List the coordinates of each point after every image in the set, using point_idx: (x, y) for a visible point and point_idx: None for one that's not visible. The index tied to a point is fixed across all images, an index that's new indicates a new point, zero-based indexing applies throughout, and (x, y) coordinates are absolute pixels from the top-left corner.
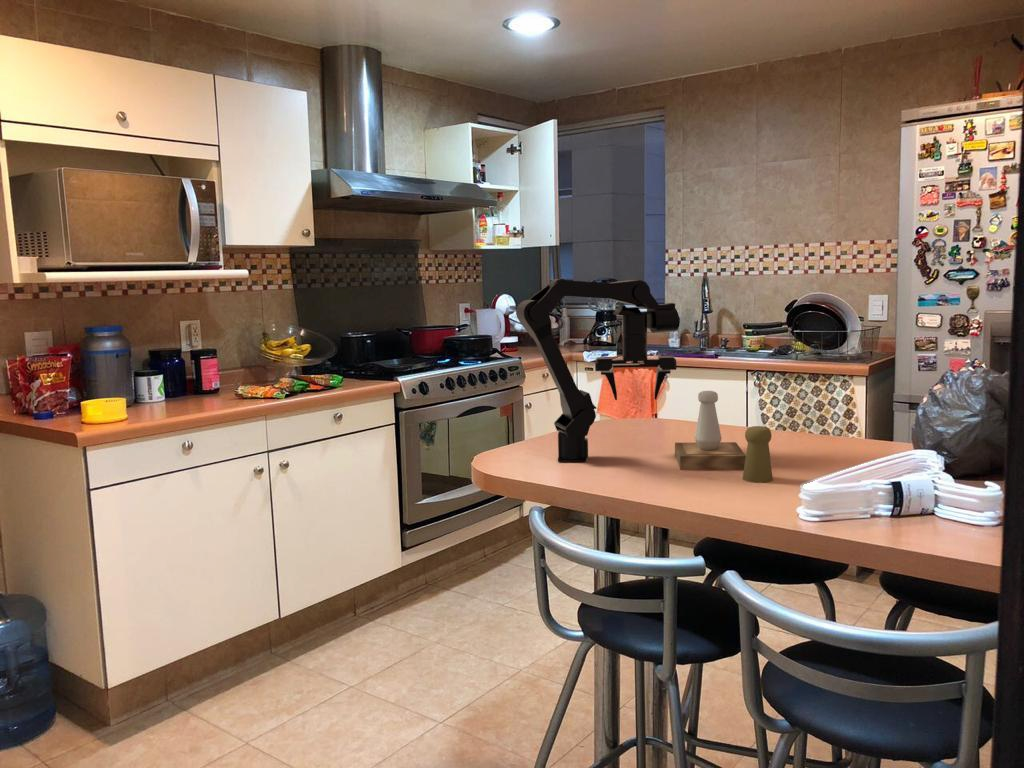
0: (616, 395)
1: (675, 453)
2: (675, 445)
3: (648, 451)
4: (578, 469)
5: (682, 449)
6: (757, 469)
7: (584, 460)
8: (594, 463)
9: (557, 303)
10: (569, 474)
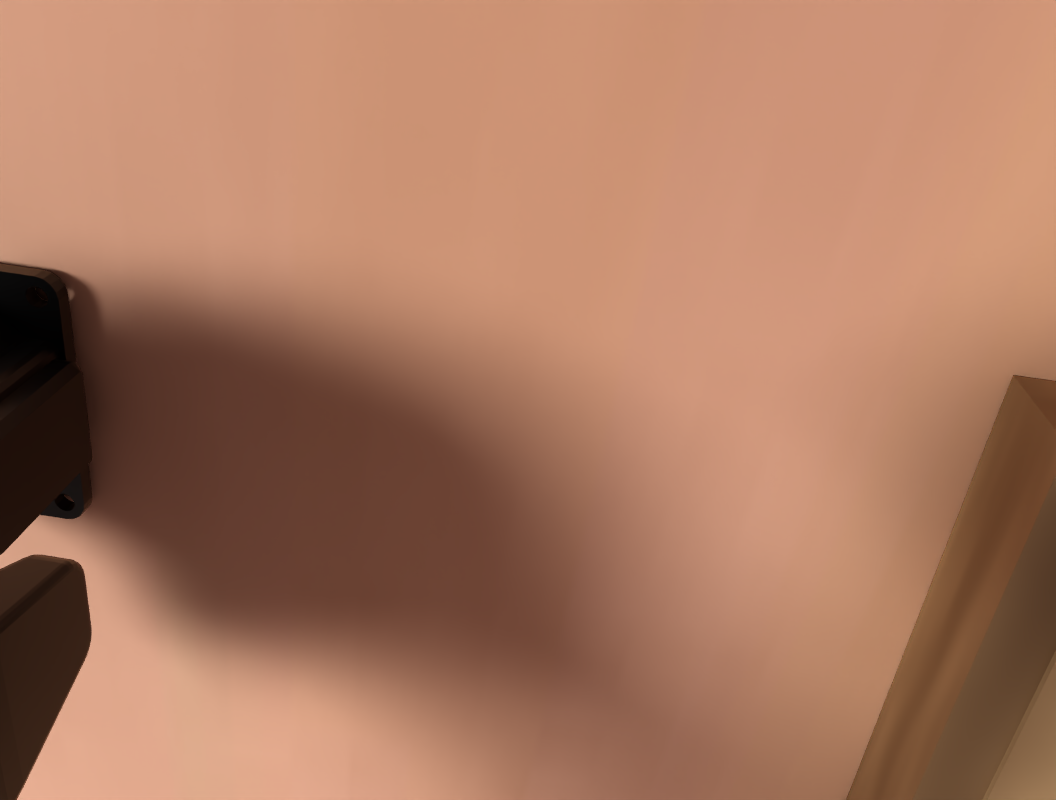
0: (18, 779)
1: (1000, 454)
2: (1029, 510)
3: (780, 143)
4: None
5: (991, 738)
6: None
7: (76, 515)
8: (176, 540)
9: None
10: None
